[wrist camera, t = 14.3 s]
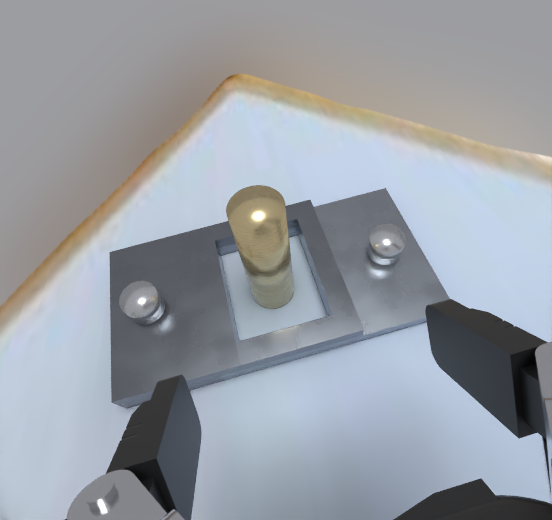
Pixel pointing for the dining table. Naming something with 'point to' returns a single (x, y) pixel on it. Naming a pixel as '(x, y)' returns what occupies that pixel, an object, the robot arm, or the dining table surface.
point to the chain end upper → (206, 311)
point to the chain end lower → (370, 267)
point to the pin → (263, 243)
